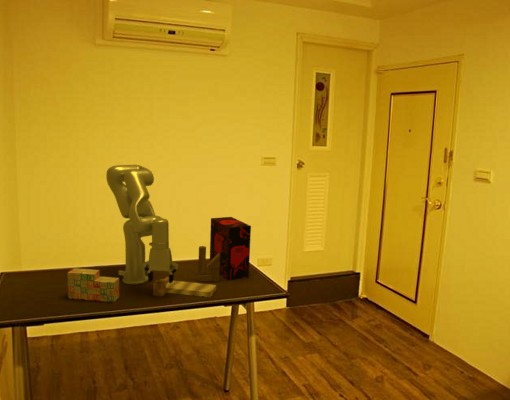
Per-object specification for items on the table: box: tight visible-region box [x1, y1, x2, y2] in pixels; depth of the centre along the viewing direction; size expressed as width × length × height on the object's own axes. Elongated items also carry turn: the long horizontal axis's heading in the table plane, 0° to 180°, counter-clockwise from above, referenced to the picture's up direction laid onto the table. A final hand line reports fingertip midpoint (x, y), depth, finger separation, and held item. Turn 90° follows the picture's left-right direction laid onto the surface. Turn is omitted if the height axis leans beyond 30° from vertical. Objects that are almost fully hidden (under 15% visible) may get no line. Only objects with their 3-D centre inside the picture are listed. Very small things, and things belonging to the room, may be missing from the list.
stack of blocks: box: [66, 267, 120, 303], centre depth 199 cm, size 21×6×12 cm, turn 83°
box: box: [209, 216, 252, 281], centre depth 240 cm, size 23×12×28 cm, turn 29°
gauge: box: [152, 276, 169, 297], centre depth 212 cm, size 4×14×6 cm, turn 171°
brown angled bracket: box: [197, 245, 220, 283], centre depth 226 cm, size 4×11×18 cm, turn 103°
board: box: [160, 278, 217, 298], centre depth 213 cm, size 28×10×2 cm, turn 81°
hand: (161, 281), depth 206 cm, fingers open, 9 cm apart
